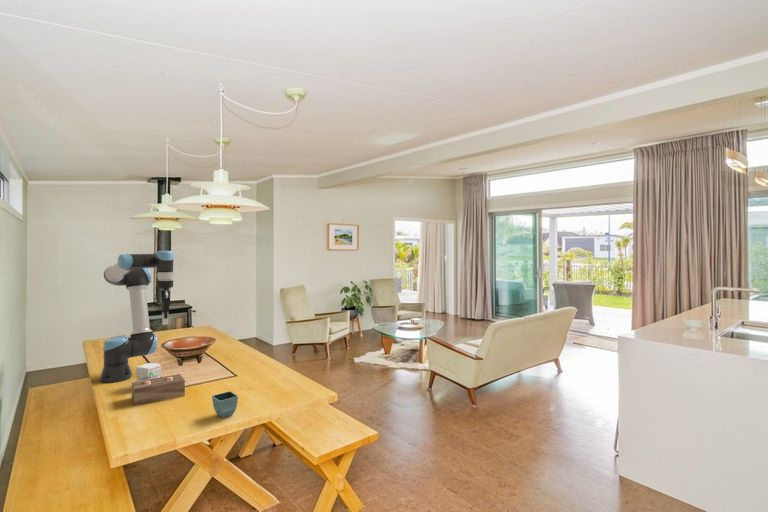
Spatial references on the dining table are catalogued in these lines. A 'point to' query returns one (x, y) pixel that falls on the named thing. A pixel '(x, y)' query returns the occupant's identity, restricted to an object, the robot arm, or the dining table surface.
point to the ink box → (148, 371)
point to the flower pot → (225, 403)
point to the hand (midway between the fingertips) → (165, 324)
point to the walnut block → (158, 389)
